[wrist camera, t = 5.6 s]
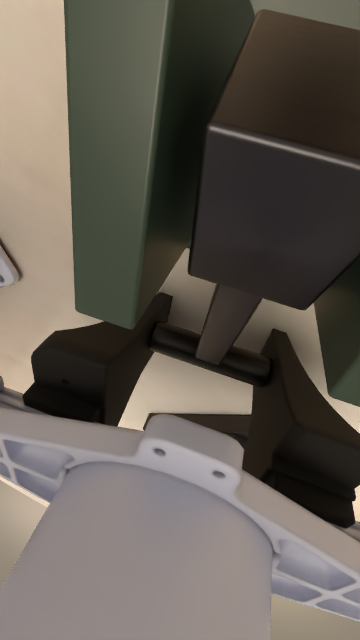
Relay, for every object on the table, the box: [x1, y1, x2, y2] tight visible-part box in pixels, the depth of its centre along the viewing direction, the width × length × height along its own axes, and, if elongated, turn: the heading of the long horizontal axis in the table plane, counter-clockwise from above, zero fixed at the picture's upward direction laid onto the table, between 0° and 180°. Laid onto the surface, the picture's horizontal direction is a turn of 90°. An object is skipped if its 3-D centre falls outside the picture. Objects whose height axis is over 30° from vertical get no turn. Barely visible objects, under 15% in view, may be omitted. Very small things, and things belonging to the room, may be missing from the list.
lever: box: [149, 9, 360, 388], centre depth 8 cm, size 11×5×2 cm
